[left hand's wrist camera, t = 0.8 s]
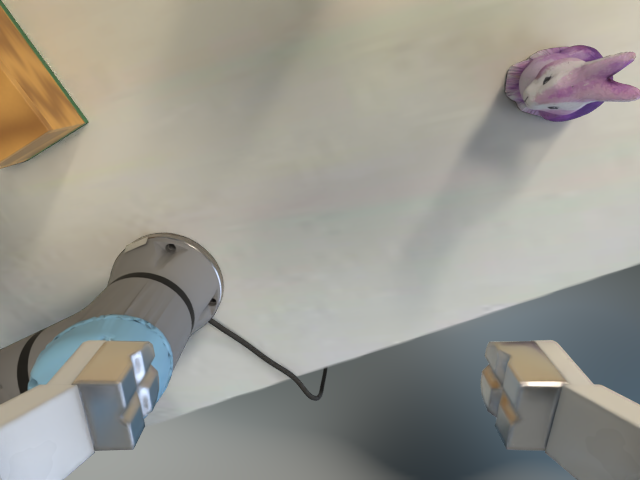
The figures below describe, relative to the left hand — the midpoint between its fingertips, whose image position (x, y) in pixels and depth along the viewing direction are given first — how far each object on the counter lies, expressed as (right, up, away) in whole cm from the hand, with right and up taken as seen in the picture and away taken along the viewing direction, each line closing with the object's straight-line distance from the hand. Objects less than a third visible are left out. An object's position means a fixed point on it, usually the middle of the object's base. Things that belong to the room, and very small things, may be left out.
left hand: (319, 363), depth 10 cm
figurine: (+27, +22, +41) cm, 54 cm away
